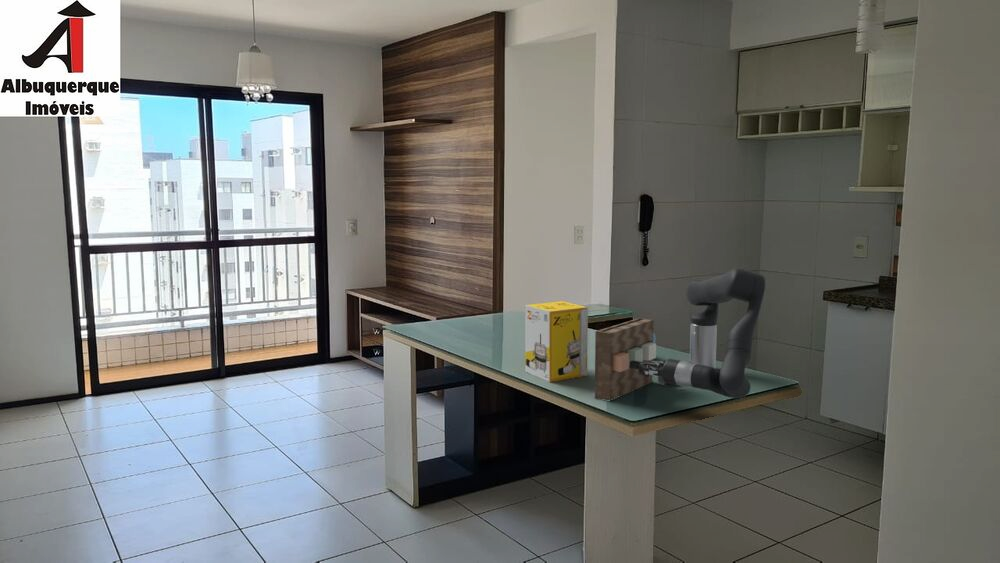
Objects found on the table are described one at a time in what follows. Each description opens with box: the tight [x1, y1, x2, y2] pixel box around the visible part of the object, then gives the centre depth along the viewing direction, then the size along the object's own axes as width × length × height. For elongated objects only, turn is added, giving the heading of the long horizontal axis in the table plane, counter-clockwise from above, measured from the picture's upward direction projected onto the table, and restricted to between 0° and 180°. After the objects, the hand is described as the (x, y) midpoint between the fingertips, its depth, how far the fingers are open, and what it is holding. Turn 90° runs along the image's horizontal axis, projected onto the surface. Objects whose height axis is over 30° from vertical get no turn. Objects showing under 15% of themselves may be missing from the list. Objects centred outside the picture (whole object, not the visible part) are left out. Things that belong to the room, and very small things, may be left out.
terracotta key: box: [613, 352, 629, 372], centre depth 227 cm, size 5×4×5 cm
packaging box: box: [524, 300, 589, 383], centre depth 257 cm, size 16×16×25 cm
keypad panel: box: [594, 317, 655, 401], centre depth 236 cm, size 28×6×22 cm, turn 140°
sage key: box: [628, 347, 643, 365], centre depth 234 cm, size 5×4×5 cm
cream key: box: [642, 342, 657, 361], centre depth 241 cm, size 5×4×5 cm
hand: (630, 363), depth 225 cm, fingers closed
